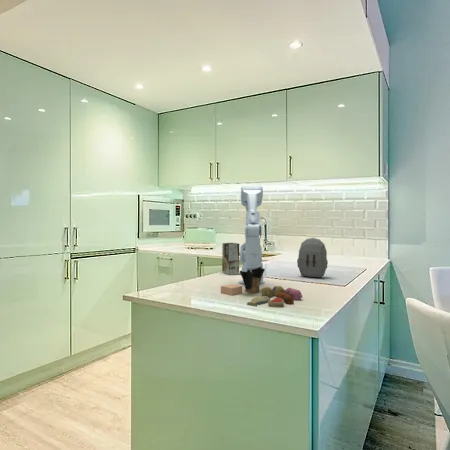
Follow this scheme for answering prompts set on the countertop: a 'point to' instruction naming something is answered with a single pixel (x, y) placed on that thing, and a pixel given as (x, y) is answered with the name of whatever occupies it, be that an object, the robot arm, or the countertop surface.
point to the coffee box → (230, 258)
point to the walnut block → (254, 286)
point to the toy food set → (279, 292)
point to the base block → (231, 289)
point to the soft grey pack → (312, 258)
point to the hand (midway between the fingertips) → (252, 287)
